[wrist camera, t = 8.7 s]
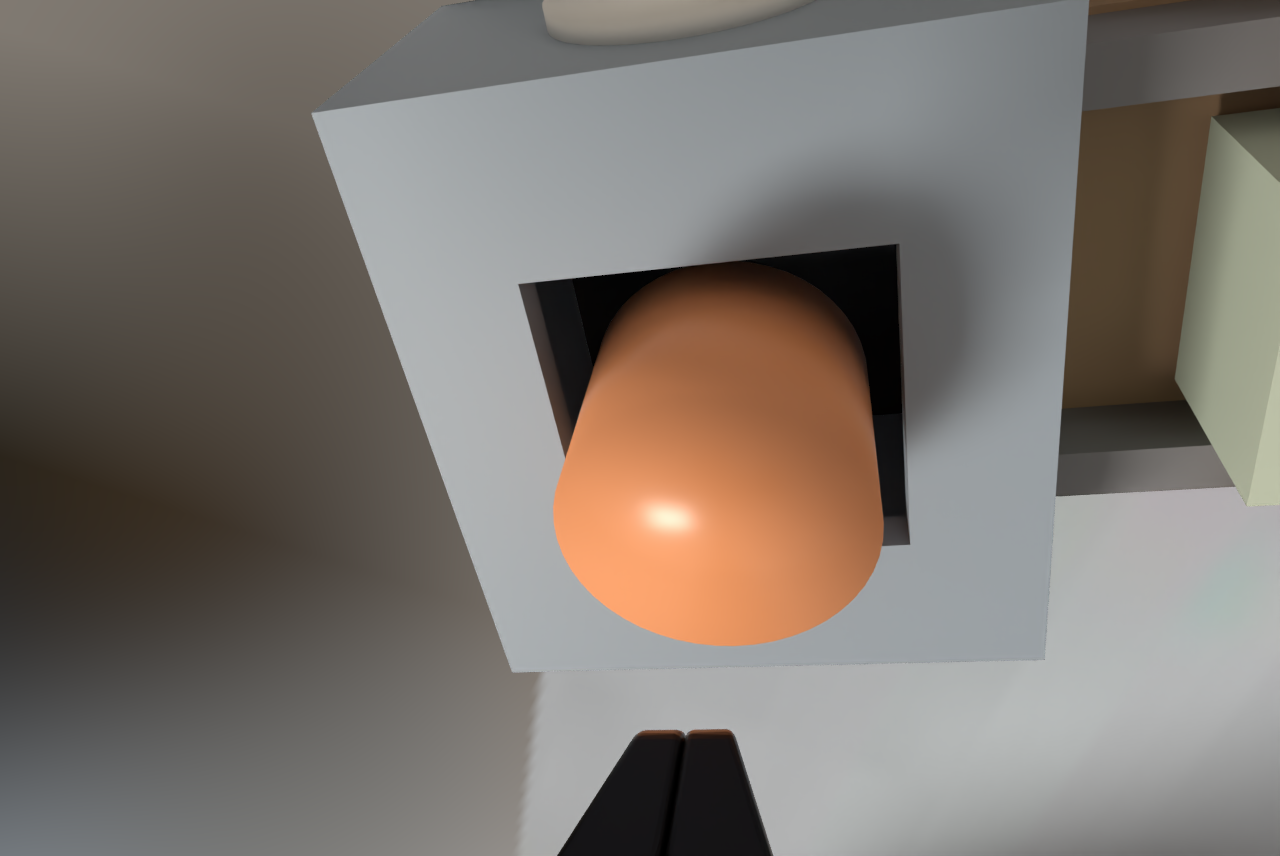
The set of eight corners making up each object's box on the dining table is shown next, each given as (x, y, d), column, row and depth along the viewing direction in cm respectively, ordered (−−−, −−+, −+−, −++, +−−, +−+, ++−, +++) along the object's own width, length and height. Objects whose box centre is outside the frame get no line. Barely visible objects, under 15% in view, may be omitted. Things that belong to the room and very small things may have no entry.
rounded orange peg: (623, 496, 15) (589, 650, 12) (571, 276, 13) (518, 407, 10) (874, 481, 14) (889, 641, 12) (859, 246, 12) (875, 380, 10)
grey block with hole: (569, 479, 20) (512, 672, 16) (435, -15, 15) (301, 85, 11) (990, 452, 18) (1044, 660, 14) (1002, -114, 13) (1091, -38, 9)
